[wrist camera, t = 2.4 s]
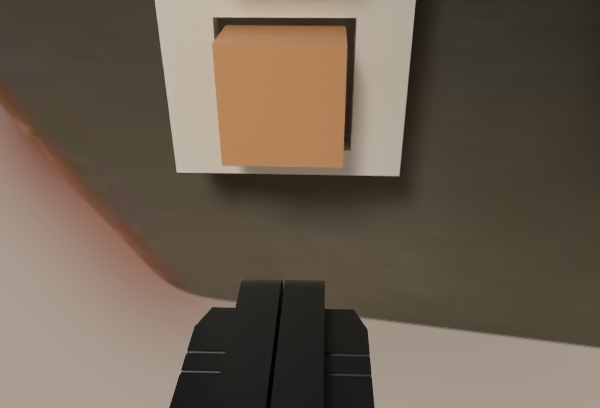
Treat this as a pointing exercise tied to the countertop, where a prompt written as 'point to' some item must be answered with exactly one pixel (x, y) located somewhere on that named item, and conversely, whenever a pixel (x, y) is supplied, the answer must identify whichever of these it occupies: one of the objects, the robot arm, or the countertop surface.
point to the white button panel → (296, 12)
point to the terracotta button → (281, 95)
